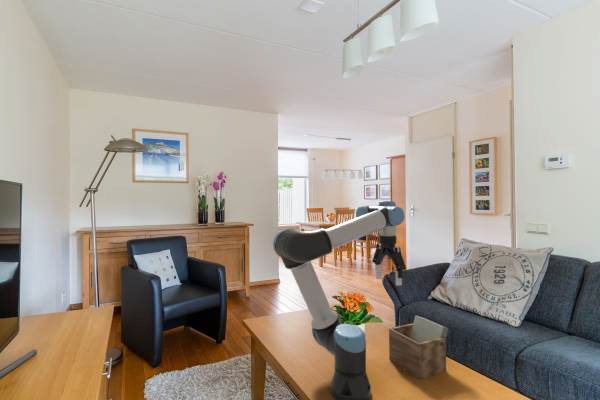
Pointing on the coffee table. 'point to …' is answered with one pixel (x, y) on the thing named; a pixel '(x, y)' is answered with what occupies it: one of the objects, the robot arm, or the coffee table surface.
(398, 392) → the coffee table surface
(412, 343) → the brown wooden box
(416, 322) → the trapdoor
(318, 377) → the coffee table surface
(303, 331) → the coffee table surface
